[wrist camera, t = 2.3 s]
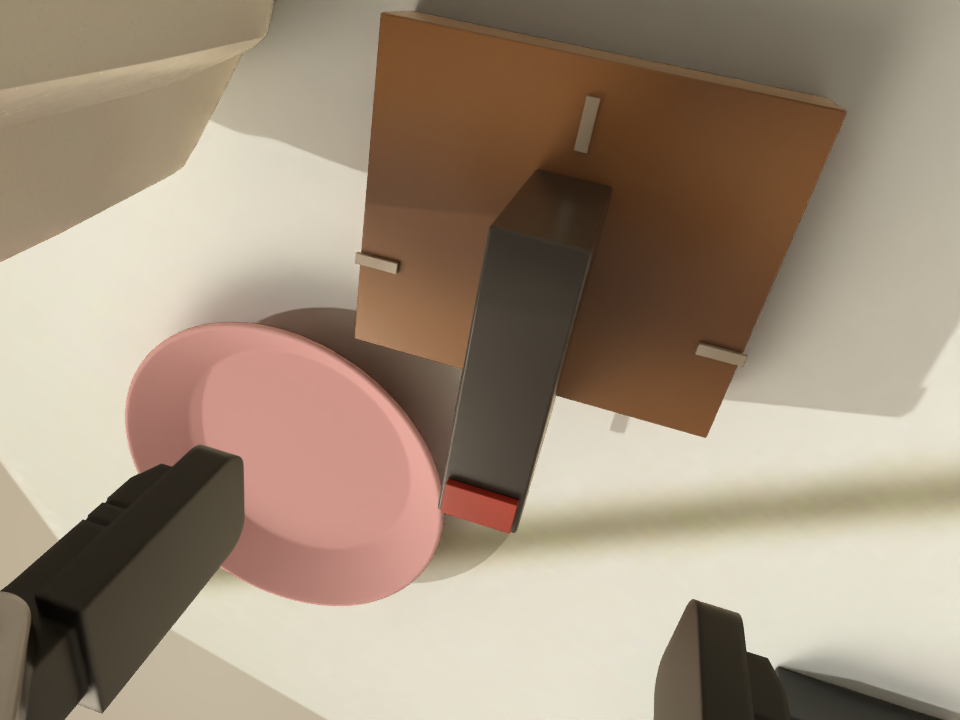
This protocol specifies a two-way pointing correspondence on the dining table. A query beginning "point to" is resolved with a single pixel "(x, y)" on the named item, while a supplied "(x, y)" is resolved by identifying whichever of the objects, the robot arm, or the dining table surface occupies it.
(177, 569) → the robot arm
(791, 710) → the button block
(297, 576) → the plate
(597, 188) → the bar knob
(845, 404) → the dining table surface
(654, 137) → the oak panel
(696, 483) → the dining table surface
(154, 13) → the vase
